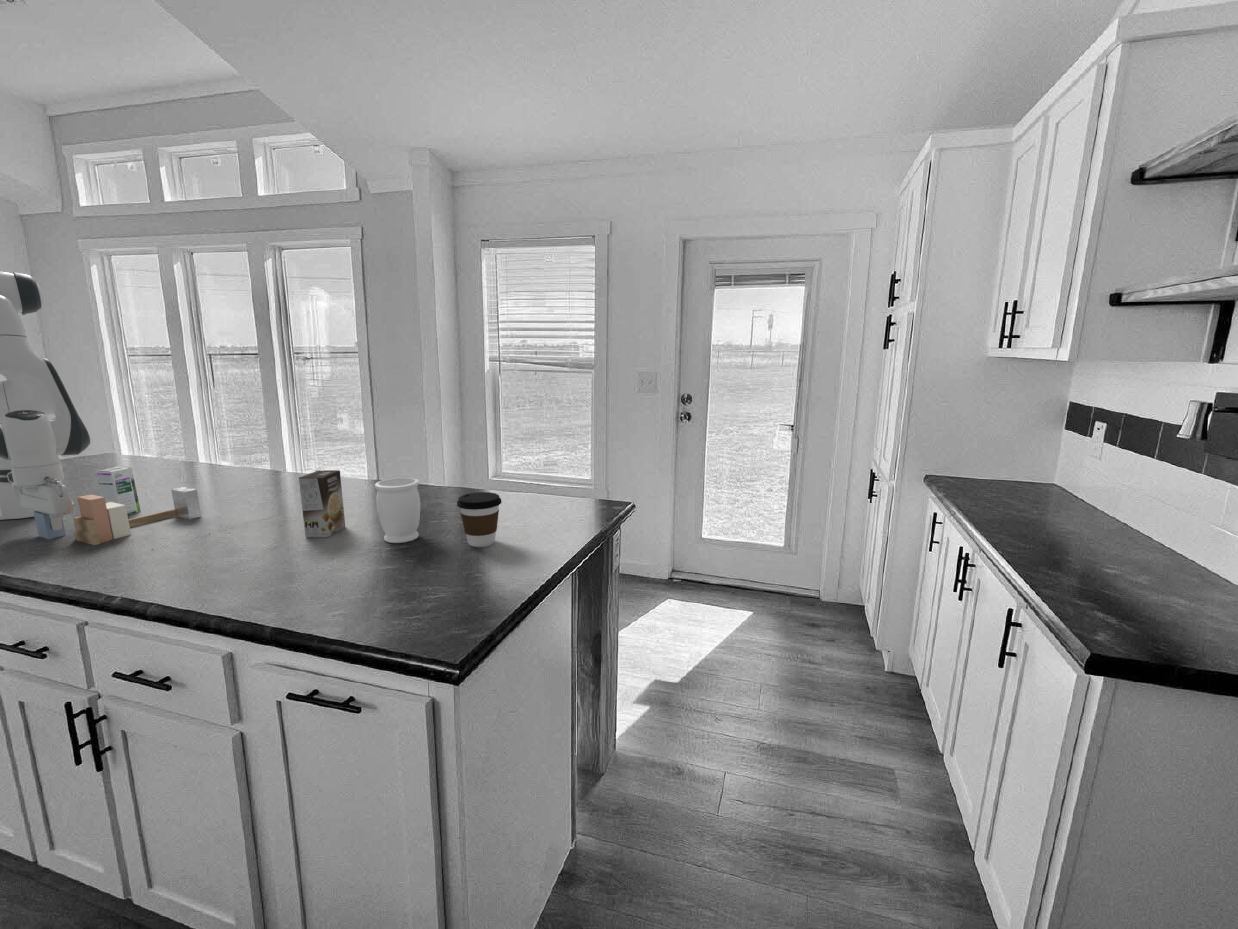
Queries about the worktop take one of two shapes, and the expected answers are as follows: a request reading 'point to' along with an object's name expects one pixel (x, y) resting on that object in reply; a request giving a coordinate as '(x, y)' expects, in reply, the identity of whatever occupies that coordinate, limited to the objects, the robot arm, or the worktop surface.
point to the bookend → (186, 503)
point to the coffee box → (322, 503)
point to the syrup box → (119, 487)
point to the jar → (398, 508)
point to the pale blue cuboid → (47, 526)
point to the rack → (89, 534)
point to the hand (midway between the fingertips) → (50, 527)
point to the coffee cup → (480, 517)
